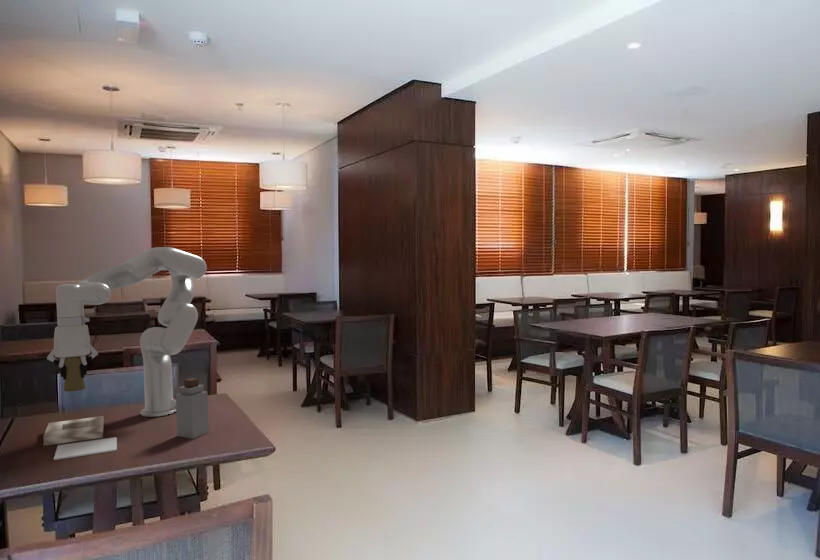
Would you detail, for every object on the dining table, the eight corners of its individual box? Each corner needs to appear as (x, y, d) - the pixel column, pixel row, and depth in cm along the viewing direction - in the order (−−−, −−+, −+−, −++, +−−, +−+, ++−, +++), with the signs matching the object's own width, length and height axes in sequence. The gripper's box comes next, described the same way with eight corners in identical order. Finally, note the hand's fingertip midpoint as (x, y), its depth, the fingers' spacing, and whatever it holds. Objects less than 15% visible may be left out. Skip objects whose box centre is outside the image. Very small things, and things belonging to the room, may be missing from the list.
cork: (89, 387, 189) (87, 354, 188) (77, 391, 183) (75, 357, 182) (72, 387, 190) (70, 354, 189) (59, 391, 184) (57, 357, 183)
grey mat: (116, 438, 182) (116, 437, 182) (116, 450, 170) (116, 449, 170) (57, 446, 175) (57, 445, 175) (53, 460, 163) (53, 458, 163)
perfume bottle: (208, 432, 187) (207, 377, 186) (192, 438, 181) (191, 382, 180) (193, 430, 190) (191, 376, 189) (177, 436, 184) (175, 380, 183)
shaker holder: (103, 424, 197) (103, 416, 197) (102, 437, 183) (102, 428, 183) (49, 431, 190) (48, 422, 190) (43, 445, 176) (43, 436, 176)
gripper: (101, 319, 192) (103, 372, 193) (41, 322, 185) (44, 378, 186) (100, 321, 186) (103, 377, 187) (38, 325, 178) (41, 383, 179)
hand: (74, 377), depth 186 cm, fingers closed on cork, 4 cm apart
